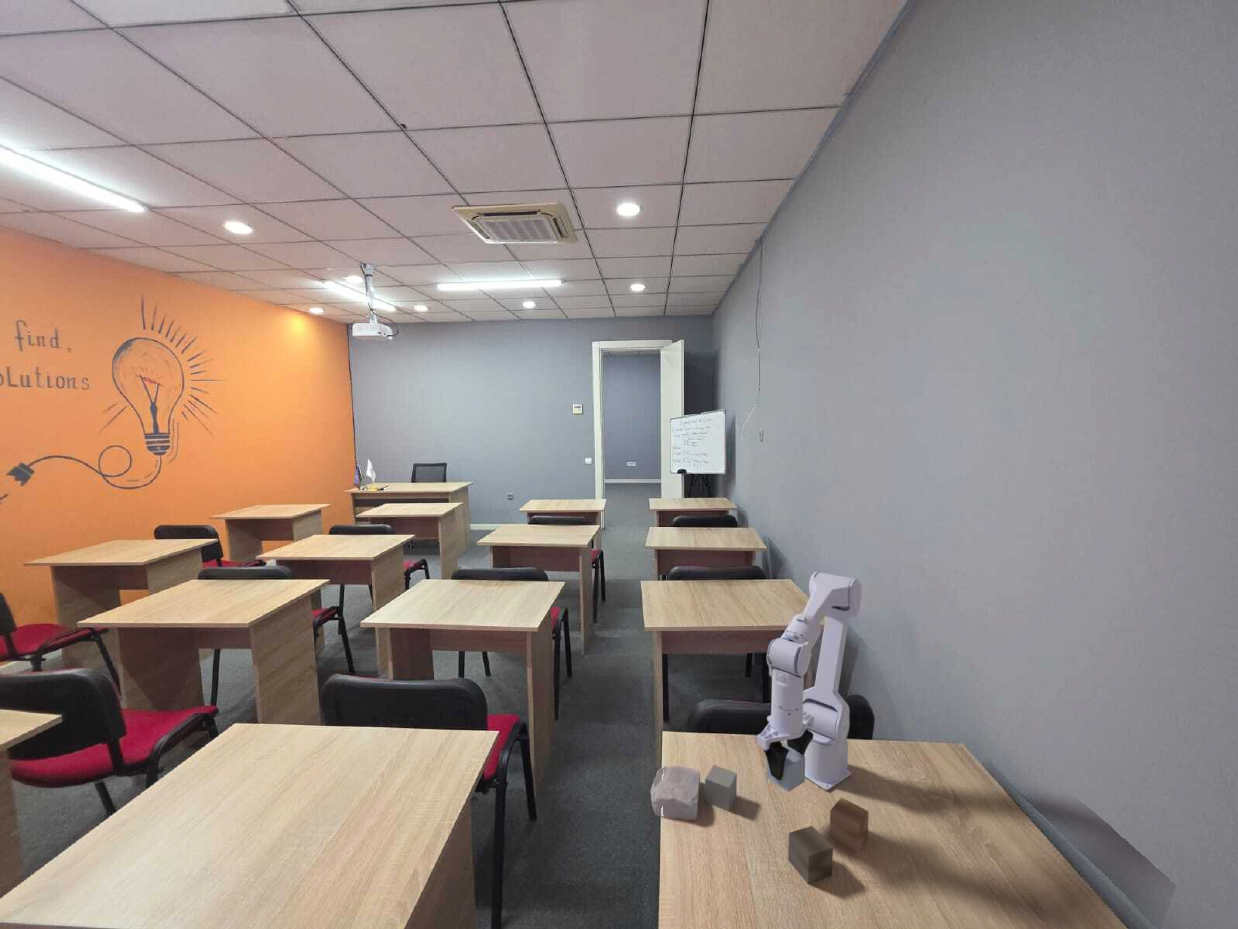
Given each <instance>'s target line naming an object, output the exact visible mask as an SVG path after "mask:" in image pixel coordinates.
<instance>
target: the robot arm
mask: <svg viewBox="0 0 1238 929" xmlns="http://www.w3.org/2000/svg"><path fill="white" fill-rule="evenodd" d="M810 576H811V577H810V579H809V582H808V583H809V584H808V591H809V599H808V600H807V603H806V605H805V608H804V610H803V612H802V613H797V614H795V615H794V616H793V618H792V619H791V621H790V622H789V624H788V625H787V627H786V628H785V630H784V632H783V633H782V635H781V636H780V637H777V638H776V639H775V638H773V639H772V640H771V641H770V643H769V645H768V648H767V654H766V663H767V664H766V665H767V666H768V671H769V672H768V675H769V677H771V704H770V705H771V710H770V715H768V716H767V717H766V720H767V722H768V723H767V725H766V726H765V727H764V729H763V730H762V731H761V732H760V733H759V734H757V735H756V736H757V737H756V738H757V739H756V740H757V741H756V742H757V743H756V745H757V746H758V747H759V748H761V749H762V750H763V753H764V754H765V757H766V762H767V761H768V764H769V768H770V773H771V775H772V776H773V777H774V778H776V779H777V780H779V781H780V780H782V777H783V771H784V763H785V759H786V757H787V754H788V753H789V751H790V750H788V749H787V748H785V747H783V746H782V744H783V743H782V741H786V745H787V746H789V747H791V748H792V749H794V750H795V751H797V752H799V753H800V754H802V755H803V756H805V778H806V779H808V781H811V782H812V783H814V784H815V785H817V786H818V787H820V788H821V789H822V790H824V791H829V790H832V789H833V787H835V786H837V785H838V784H840V783H841V782H842V781H844V780H845V779H846V778H848V777H850V776H851V775H852V772H851V771H850V770H849V769H848V764H849V763H848V760H849V759H848V758H849V744H848V740H847V738H848V735H849V730H850V711H851V710H850V706H849V705H848V703H847V702H846V700H845V699H844V698H843V697H842V695H841V694H840V693H839V688H840V687H839V686H840V681H841V673H842V668H843V661H844V654H845V648H846V647H845V646H846V641H847V636H848V635H847V634H848V633H847V632H848V628H849V623H850V621H851V618H855V617H859V612H860V608H861V600H862V594H863V590H862V585H861V582H860V580H859V579H858V578H855V577H854V578H852V577H848V576H841V575H836V574H831V573H826V572H821V571H820V570H819V571H814V572H813V573H812V574H811V575H810ZM824 618H825V619H824ZM823 620H825V621H824V625H823V626H824V627H823V633H822V639H821V645H820V650H819V657H818V663H817V669H816V675H815V676H816V677H815V681H814V686H811V687H810V688H807V689H804V684H805V683H804V682H805V681H804V680H805V675H806V674H807V672H808V670H809V667H810V666H809V665H810V661H811V659H812V656H813V654H812V649H813V648H814V647H815V646H814V645H815V644H816V643H817V640H818V639H819V637H820V635H821V632H822V628H821V626H820V624H821V623H822V621H823Z"/></svg>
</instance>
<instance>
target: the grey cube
mask: <svg viewBox="0 0 1238 929" xmlns="http://www.w3.org/2000/svg"><path fill="white" fill-rule="evenodd" d="M737 779H738V773H737V772H734V771H732V770H729V769H727V768H723V767H721V766H718V765H715V764H713V765H712V767H711V769H710V770H709V771H708V773H707V775H706V777H705V778H704V803H707V804H708V805H711V806H713V807H716V808H719V809H721V810H724V811H726V812H730V811H731V808H732V806H733V804H734V802H735V800H736V798H737V793H738V792H737V789H738V788H737V784H738V782H737V781H738V780H737Z"/></svg>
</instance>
